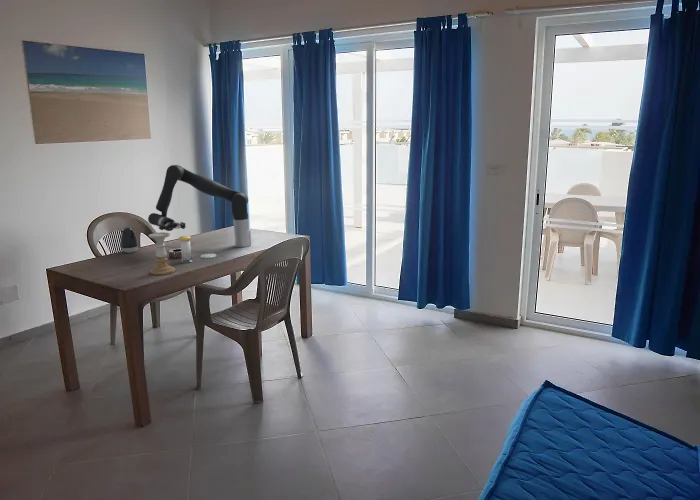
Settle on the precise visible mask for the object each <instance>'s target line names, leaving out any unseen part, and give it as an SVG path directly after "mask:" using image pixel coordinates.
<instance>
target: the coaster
mask: <svg viewBox="0 0 700 500" xmlns="http://www.w3.org/2000/svg"><path fill="white" fill-rule="evenodd" d="M216 257H217V254H216V253H203V254H201V255H200V259H212V258H216Z"/></svg>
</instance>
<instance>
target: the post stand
mask: <svg viewBox="0 0 700 500" xmlns="http://www.w3.org/2000/svg"><path fill="white" fill-rule="evenodd" d="M192 262H194V259H192V258H190V259H182V258H181V260H180V263H181V264H189V263H192Z"/></svg>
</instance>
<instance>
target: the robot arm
mask: <svg viewBox="0 0 700 500" xmlns="http://www.w3.org/2000/svg"><path fill="white" fill-rule="evenodd" d="M178 181H180V182H183V183H186V184H188V185H190V186H192V187H193V188H194V189H196V190H198V191H199V192H201V193H203V194H205V195H208V196H211V197H214V198H219V199H224V200H226V201H228V202H231V214H232V216H233V220H232V221H233V232H234V235H233V237H234V246H235V247H236V248H246V247H249V246H252V235H251V234H252V233H251V230H250V226H249V225H250V224H249V223H250V222H249V214H248V207H247V205H248V203H249V197H248V196H247V194H245V193H244V192H241V191H238V190H234V189H232V188H229V187H227V186H225V185H223V184H221V183H219V182H217V181H215V180H212V179H210V178H208V177H206V176H203V175H201V174H197V173H194V172H192V171H190V170H188V169H187V168H185V167H183V166H181V165H179V164H172V165H170V166H168V167H167V168H166V173H165V177H164V182H163V186H162V189H161V191H160V195H159V197H158V200H157V203H156V206H155V209H156V210H157V211H159V212H160V213H161V214H159V213H156V212H152V213H150V214H149V215H148V218H147V221H148V223H149V224H150V225H153V226H156V227H158V230H161V231H167V232H171V231H173V230H176V229H178V230H179V229H182V230H184V229H185V228H187V227H186V223H185V222H183V221H180V222H177V221H175V220H174V219H173V218H170V217H168V216H167V215H168V210H169V207H170V206H171V205H170V204H171V201H172V198H173V192H174V188H175V186H176V185H177V182H178Z"/></svg>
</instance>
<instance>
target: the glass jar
mask: <svg viewBox="0 0 700 500" xmlns="http://www.w3.org/2000/svg"><path fill="white" fill-rule="evenodd" d="M178 241H180V242H179V243H180V251H181V252H180V253H181V254H180V255H181V260H182V259H190V258H191V259H192V247H191V241H192V238H191V235H184V236H183V235H182V236H179V237H178Z"/></svg>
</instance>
